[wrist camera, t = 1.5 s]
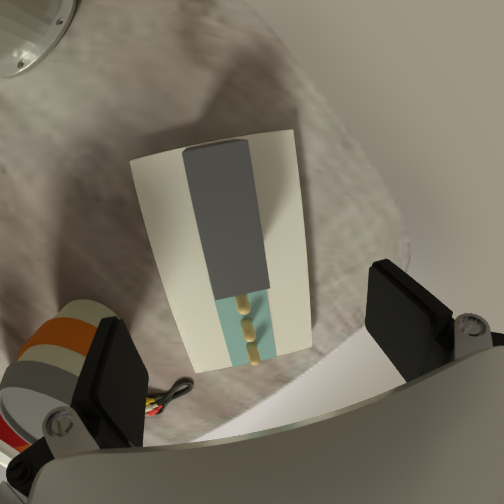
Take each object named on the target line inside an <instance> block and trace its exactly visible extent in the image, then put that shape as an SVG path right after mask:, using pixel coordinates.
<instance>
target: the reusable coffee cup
mask: <svg viewBox="0 0 504 504" xmlns="http://www.w3.org/2000/svg"><path fill="white" fill-rule="evenodd" d="M112 316H117V315H116V314H115V313H114V312H113V311H112V310H111V309H109V308H108V307H106V306H105V305H103V304H101V303H98V302H96V301H92V300H88V299H79V300H74V301H71V302H69V303H68V304H67V305H65V306H64V307H63V308H62V309H61V310H60V312H59V313H58V314H57V315H56V316H55V317H54V318H53V319H51V320H49V321H47V322H45V323H44V324H43V325H42V326H41V327H40V328H39V329H38V330H37V331H36V332H35V333H34V335H33V336H32V337H31V338H30V339H29V340H28V341H27V343H26V344H25V345H24V346H23V347H22V349H21V350H20V352H19V354H18V360H17V362H15V363H12V364H11V365H10V366H9V367H7V369H6V371H5V373H4V376H3V378H2V381H1V384H0V414H1V416H2V418H3V419H4V420H5V422H6V423H7V424H8V425H9V427H10V428H11V429H12V430H13V431H14V432H15V433H16V434H17V435H19V436H20V437H21V438H22V439H23V440H25V441H26V442H27V443H29V444H30V445H32V444H34V443H35V442H36V441H38V440H39V439H40V438H42V437H43V436H44V434H43V431H42V423H43V421H44V418H45V417H46V415H47V414H48V413H49V412H50V411H51V410H53V409H55V408H57V407H61V406H68V407H70V405H71V402H72V400H71V399H72V396H73V393H74V390H75V387H76V384H77V381H78V378H79V375H80V372H81V369H82V367H83V364H84V361H85V358H86V356H87V353H88V350H89V348H90V345H91V343H92V340H93V338H94V335H95V333H96V330H97V328H98V325H99V323H100V320H101V319H102V318H105V317H112ZM117 317H118V316H117ZM118 319H120V318H119V317H118Z"/></svg>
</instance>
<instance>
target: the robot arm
mask: <svg viewBox="0 0 504 504" xmlns="http://www.w3.org/2000/svg"><path fill="white" fill-rule="evenodd" d="M75 7H76V0H0V78H11V77H14V76H18V75H20V74H22V73H24V72H26V71H28V70H29V69H31V68H32V67H34V66H35V65H36V64H38V63H39V62H40V61H41V60H42V59H43V58H44V57H46V56H47V54H48V53H49V52H50V51H51V50H52V49H53V48H54V47H55V45H56V44H57V43H58V41H59V40H60V39H61V37H62V36H63V34H64V33H65V31H66V29H67V28H68V26H69V24H70V21H71V19H72V17H73V14H74V11H75ZM452 314H453V312H452V311H451V310H450V309H449V308H448V307H446V306H445V305H444V304H443V303H441V301H439V300H438V299H437V298H436V297H435V296H434V295H432V294H431V293H430V292H429V291H428V290H426V289H425V288H424V287H423V286H421V285H420V284H419V283H418V282H416V281H415V280H414V279H413V278H412V277H410V276H409V275H408V274H407V273H405V272H404V271H403V270H401V269H400V268H399V267H398V266H396V265H395V264H394V263H392V262H391V261H390V260H388V259H383V260H380V261H376V262H374V263H373V264H372V266H371V267H370V268H369V277H368V293H367V306H366V317H365V326H366V329H367V330H368V332H369V333H370V335H371V336H372V337H373V338H374V339H375V341H376V342H377V343H378V345H379V346H380V348H381V349H382V350H383V351H384V353H385V354H386V355H387V357H388V358H389V359H390V361H391V362H392V363H393V364H394V366H395V367H396V369H397V370H398V371H399V373H400V374H401V375H402V377H403V378H404V379H405V381H406V382H407V383H405V384H403V385H401V386H398V387H396V388H394V389H392V390H389V391H387V392H384V393H382V394H379V395H377V396H375V397H372V398H369V399H367V400H364V401H361V402H359V403H356V404H353V405H350V406H347V407H345V408H342V409H339V410H336V411H333V412H330V413H326V414H323V415H320V416H317V417H313V418H310V419H307V420H303V421H299V422H296V423H292V424H289V425H284V426H280V427H277V428H272V429H268V430H263V431H258V432H254V433H249V434H244V435H238V436H233V437H227V438H222V439H215V440H208V441H201V442H193V443H184V444H174V445H163V446H150V447H143V433H144V420H145V409H146V399H147V390H148V381H149V376H148V372H147V369H146V367H145V365H144V363H143V361H142V359H141V357H140V355H139V353H138V351H137V349H136V347H135V345H134V343H133V341H132V339H131V336H130V334H129V332H128V330H127V328H126V325H125V323H124V321H123V320H122V319H118V317H117V316H112V317H105V318H102V319H101V320H100V323H99V325H98V328H97V330H96V333H95V335H94V338H93V340H92V343H91V345H90V348H89V350H88V353H87V356H86V358H85V361H84V364H83V367H82V369H81V372H80V375H79V378H78V381H77V384H76V387H75V390H74V393H73V396H72V399H71V400H72V402H71V405H70V407H68V406H61V407H57V408H55V409H53V410H51V411H50V412H49V413H48V414H47V415H46V417H45V418H44V421H43V423H42V431H43V434H44V436H43V437H42V438H40V439H39V440H38V441H36V442H35V443H34V444H32V445H31V446H29V447H28V448H27V449H25V450H24V451H23V452H21V453H20V454H18V455H17V456H16V457H14V458H13V459H12V460H11V461H10V462H9V464H8V466H7V470H6V477H7V482H4V481H2V482H1V484H0V504H504V334H502V333H495V332H491V331H490V327H489V324H488V322H487V321H486V320H485V319H483V318H482V317H481V316H478V315H476V314H472V313H465V314H462V315H459V316H458V317H457V318H456V319H455V320H454V319H453V318H452Z"/></svg>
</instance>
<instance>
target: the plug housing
mask: <svg viewBox="0 0 504 504" xmlns="http://www.w3.org/2000/svg"><path fill="white" fill-rule="evenodd" d="M182 156H183V162H184V167H185V172H186V176H187V181H188V186H189V191H190V196H191V200H192V205H193V210H194V214H195V219H196V223H197V227H198V232H199V236H200V241H201V245H202V249H203V253H204V257H205V262H206V266H207V270H208V274H209V278H210V282H211V286H212V290H213V294H214V298H215V300H220V299H224V298H229V297H234V296H238V295H243V294H248V293H252V292H257V291H261V290H265V289H270V282H269V275H268V268H267V261H266V254H265V247H264V241H263V234H262V227H261V221H260V214H259V207H258V201H257V194H256V188H255V181H254V175H253V169H252V162H251V156H250V150H249V143H248V140H244V139H231V140H225V141H220V142H214V143H209V144H204V145H199V146H194V147H190V148H186V149H185V150H184V151H183V152H182Z"/></svg>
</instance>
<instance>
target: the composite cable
mask: <svg viewBox="0 0 504 504" xmlns="http://www.w3.org/2000/svg"><path fill="white" fill-rule="evenodd" d="M182 385H188V387H187V388H186V389H184V390H182V391H180V392H177V393H175V392H176V391H177V390H178V389H179V388H180V387H181V386H182ZM192 389H193V383H192V382H191V381H189V380H186V379H182V380H179V381H178V382H176V383H175V384H174V386H173V387H172V389H171V390H170V392H169V393H168V394H165V395H163V394H158V395H154V396H150V397H147V399H146V409H145V412H146V414H145V416H152V415H154V414H155V415H158V414H161V413H162V412H163V411H164V410H165V408H166V406H167V405H168V403H169V402H171V401H172V400H173V399H176V398H178V397H180V396H182V395H185V394H187V393H188V392H190V391H191V390H192ZM163 405H164V406H163ZM161 407H163V408H162V409H161V410H159V409H160V408H161Z"/></svg>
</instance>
